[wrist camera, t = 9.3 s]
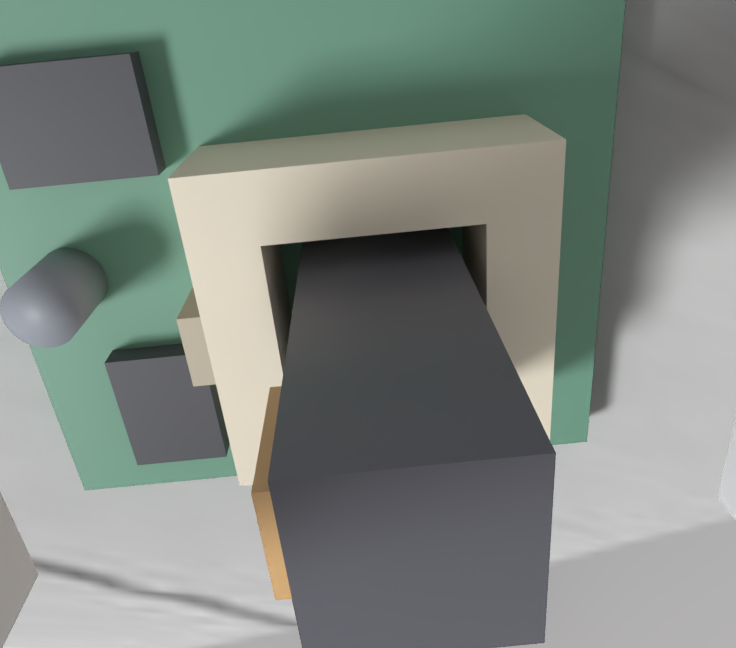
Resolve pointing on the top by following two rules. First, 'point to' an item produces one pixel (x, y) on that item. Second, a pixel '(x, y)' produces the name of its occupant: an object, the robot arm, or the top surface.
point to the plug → (402, 457)
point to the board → (294, 96)
